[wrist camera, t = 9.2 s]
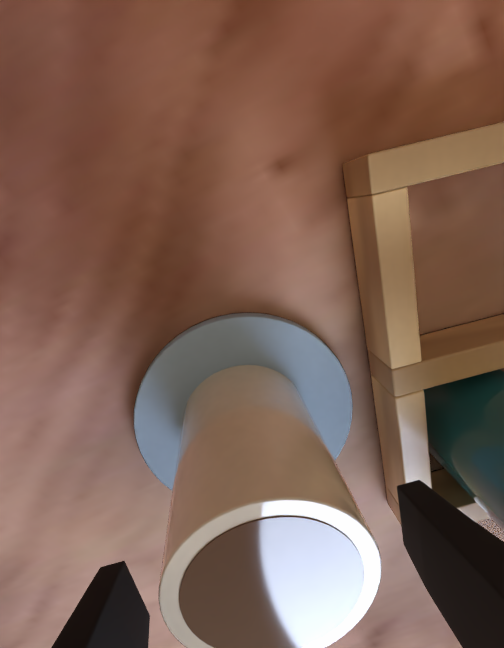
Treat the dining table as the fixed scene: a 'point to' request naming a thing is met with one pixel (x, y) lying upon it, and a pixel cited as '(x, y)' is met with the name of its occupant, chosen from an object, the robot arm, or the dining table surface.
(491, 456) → the teal cup
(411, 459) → the cup holder
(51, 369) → the dining table surface
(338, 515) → the cream cup
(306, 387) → the coaster
